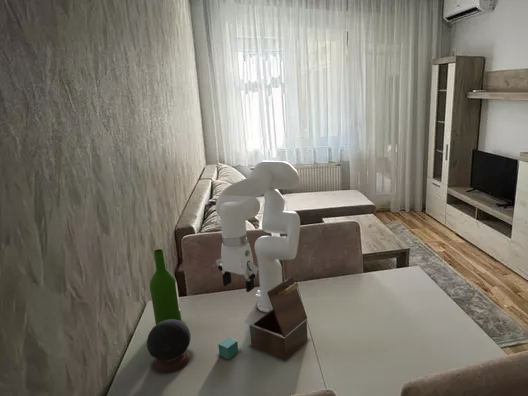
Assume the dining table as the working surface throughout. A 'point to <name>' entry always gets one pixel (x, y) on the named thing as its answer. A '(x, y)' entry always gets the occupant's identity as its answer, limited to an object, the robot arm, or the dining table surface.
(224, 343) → the block
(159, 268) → the wine bottle
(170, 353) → the ball on stand
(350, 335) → the dining table surface
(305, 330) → the chest
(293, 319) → the chest lid
